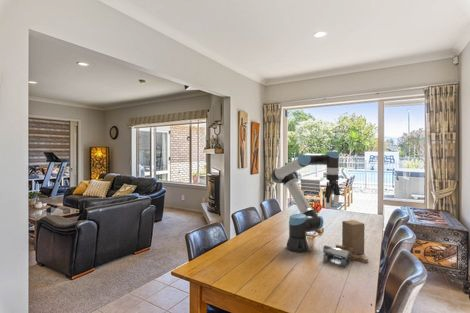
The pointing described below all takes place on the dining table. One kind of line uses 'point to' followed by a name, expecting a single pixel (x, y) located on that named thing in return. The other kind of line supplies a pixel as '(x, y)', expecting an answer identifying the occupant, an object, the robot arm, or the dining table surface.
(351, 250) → the wooden clevis bracket
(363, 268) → the dining table surface
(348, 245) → the wooden block
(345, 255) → the axle
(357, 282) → the dining table surface
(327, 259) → the v block
